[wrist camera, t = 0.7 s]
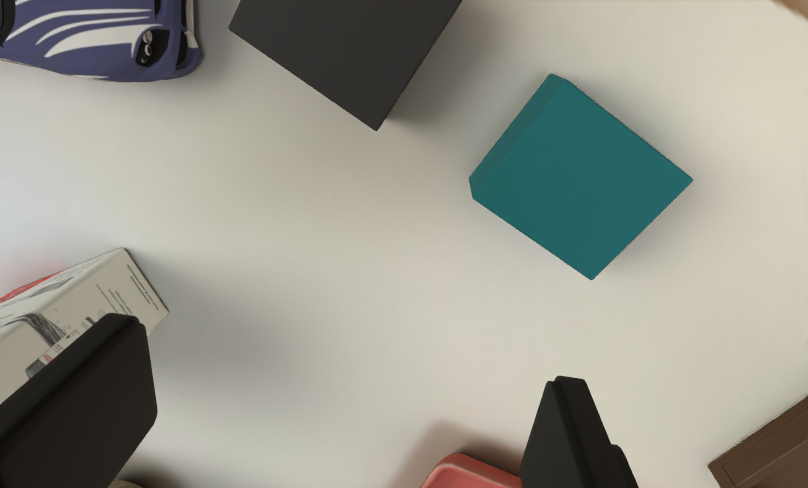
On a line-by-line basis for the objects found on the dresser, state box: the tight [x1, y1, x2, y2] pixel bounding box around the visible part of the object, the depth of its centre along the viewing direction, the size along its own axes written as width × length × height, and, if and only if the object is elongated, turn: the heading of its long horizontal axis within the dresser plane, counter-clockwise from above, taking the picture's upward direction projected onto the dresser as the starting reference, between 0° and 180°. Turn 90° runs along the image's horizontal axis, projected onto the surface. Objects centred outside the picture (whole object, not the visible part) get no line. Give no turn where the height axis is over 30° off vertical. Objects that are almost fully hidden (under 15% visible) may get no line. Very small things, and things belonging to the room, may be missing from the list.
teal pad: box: [469, 74, 693, 280], centre depth 21 cm, size 6×7×3 cm
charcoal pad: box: [229, 0, 462, 131], centre depth 19 cm, size 6×7×3 cm
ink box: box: [0, 248, 168, 404], centre depth 23 cm, size 8×5×12 cm, turn 112°
